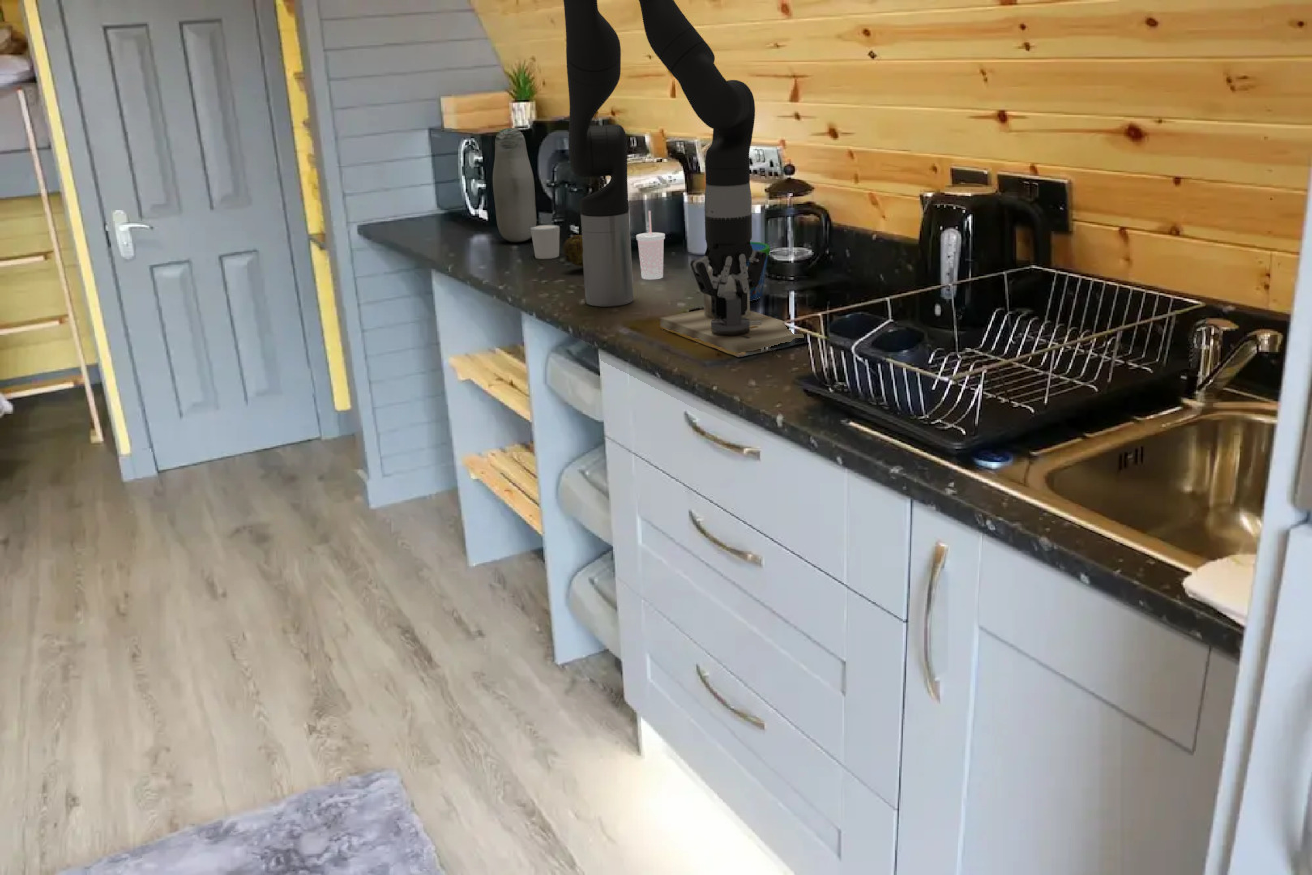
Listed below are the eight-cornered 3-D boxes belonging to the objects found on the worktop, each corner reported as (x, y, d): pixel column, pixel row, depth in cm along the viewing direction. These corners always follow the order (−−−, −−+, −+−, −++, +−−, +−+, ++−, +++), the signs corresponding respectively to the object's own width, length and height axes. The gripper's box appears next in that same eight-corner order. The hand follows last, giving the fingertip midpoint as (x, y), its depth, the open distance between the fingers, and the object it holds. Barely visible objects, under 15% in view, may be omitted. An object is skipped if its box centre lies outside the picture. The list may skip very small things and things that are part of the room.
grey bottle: (493, 241, 286) (483, 128, 276) (531, 236, 290) (522, 125, 280) (505, 247, 277) (494, 131, 268) (543, 242, 281) (535, 128, 272)
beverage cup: (663, 280, 233) (661, 213, 229) (635, 280, 235) (631, 213, 230) (669, 274, 239) (666, 208, 234) (641, 274, 240) (638, 208, 235)
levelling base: (660, 328, 196) (657, 266, 192) (730, 315, 203) (729, 254, 199) (738, 358, 177) (737, 289, 173) (813, 342, 184) (813, 275, 180)
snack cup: (754, 310, 206) (754, 255, 202) (702, 306, 210) (700, 253, 207) (781, 291, 219) (781, 240, 216) (731, 288, 223) (730, 238, 220)
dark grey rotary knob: (715, 336, 181) (714, 301, 179) (707, 327, 187) (706, 292, 185) (765, 332, 182) (765, 297, 180) (756, 323, 188) (756, 288, 186)
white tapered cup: (560, 258, 260) (557, 228, 258) (530, 259, 260) (528, 230, 258) (563, 253, 267) (560, 223, 264) (534, 254, 267) (532, 225, 264)
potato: (626, 269, 246) (624, 233, 243) (570, 276, 241) (568, 239, 238) (613, 263, 253) (611, 227, 250) (559, 269, 249) (556, 233, 246)
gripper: (703, 220, 171) (705, 328, 178) (778, 209, 178) (777, 314, 184) (678, 214, 178) (681, 318, 184) (751, 204, 184) (751, 305, 190)
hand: (729, 316), depth 184 cm, fingers closed on dark grey rotary knob, 3 cm apart
